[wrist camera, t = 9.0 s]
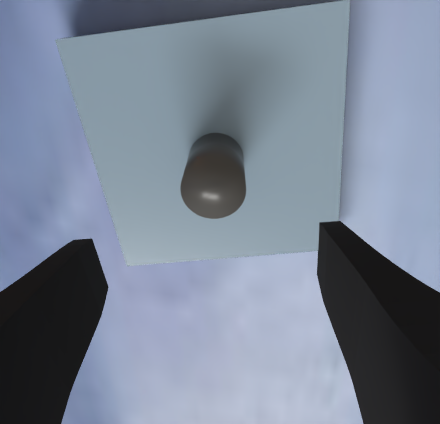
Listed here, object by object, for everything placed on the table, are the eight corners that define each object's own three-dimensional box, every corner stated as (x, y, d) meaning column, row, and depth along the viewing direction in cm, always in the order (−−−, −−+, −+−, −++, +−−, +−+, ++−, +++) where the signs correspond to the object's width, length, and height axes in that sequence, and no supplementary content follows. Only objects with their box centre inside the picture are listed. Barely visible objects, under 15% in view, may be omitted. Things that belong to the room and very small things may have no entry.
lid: (133, 248, 24) (110, 308, 19) (70, 36, 17) (13, 48, 13) (329, 232, 22) (355, 290, 18) (338, -1, 16) (381, -1, 12)
